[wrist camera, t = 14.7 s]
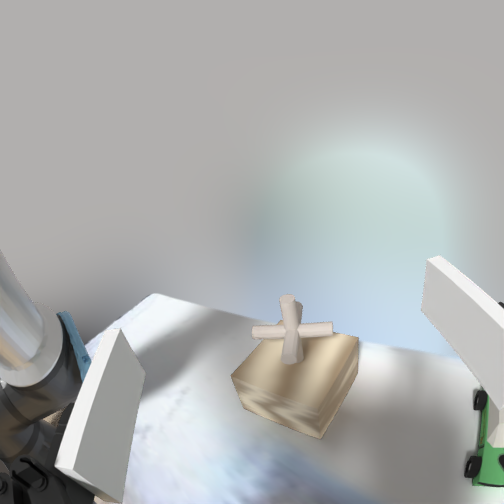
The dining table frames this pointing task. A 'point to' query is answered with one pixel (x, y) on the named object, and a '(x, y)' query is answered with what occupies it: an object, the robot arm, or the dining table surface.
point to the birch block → (299, 381)
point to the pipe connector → (292, 330)
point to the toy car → (488, 445)
